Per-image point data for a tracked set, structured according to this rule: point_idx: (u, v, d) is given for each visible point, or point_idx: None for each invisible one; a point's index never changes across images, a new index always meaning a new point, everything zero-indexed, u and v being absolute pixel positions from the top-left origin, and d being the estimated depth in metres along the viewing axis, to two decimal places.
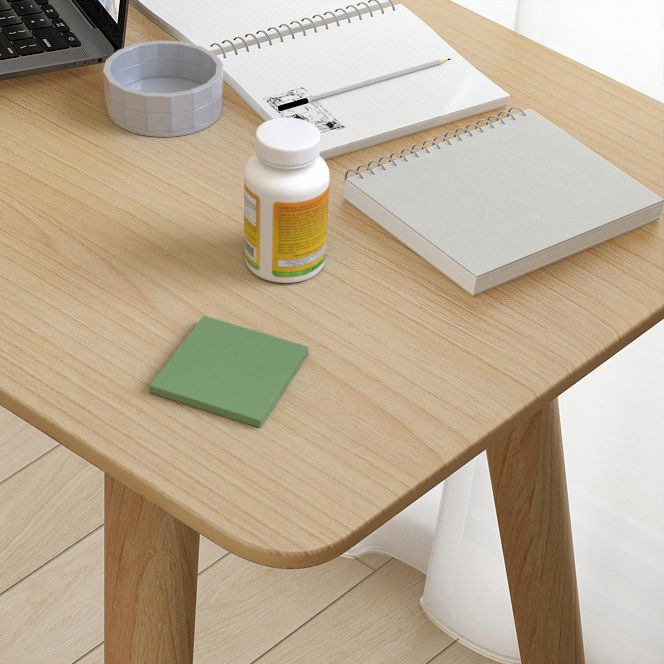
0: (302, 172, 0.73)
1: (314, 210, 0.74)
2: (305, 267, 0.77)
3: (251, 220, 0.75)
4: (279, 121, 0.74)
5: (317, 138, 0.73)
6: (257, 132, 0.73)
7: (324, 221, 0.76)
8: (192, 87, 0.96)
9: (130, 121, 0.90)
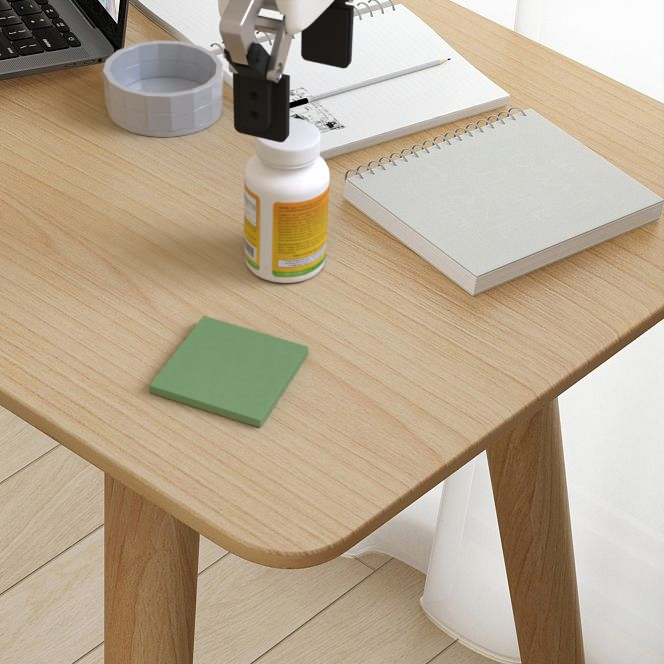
0: (302, 172, 0.73)
1: (314, 210, 0.74)
2: (305, 267, 0.77)
3: (251, 220, 0.75)
4: None
5: (317, 138, 0.73)
6: None
7: (324, 221, 0.76)
8: (192, 87, 0.96)
9: (130, 121, 0.90)
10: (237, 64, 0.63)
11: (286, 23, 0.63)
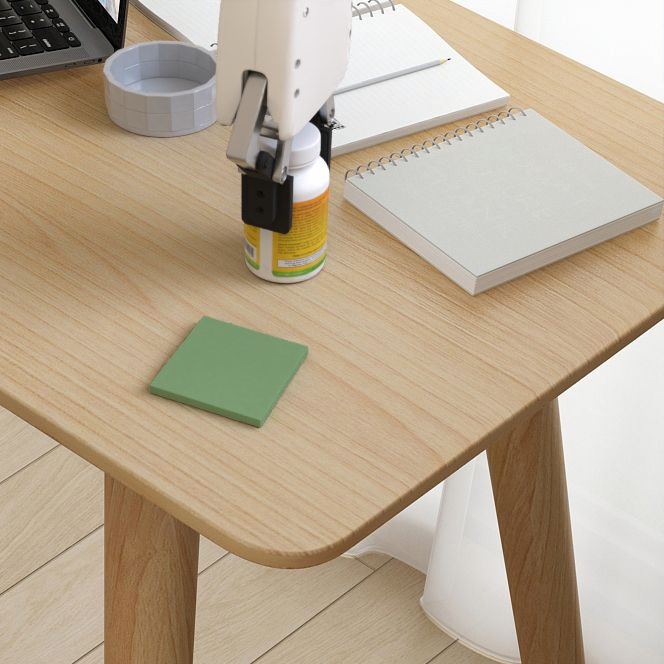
0: (302, 172, 0.73)
1: (314, 210, 0.74)
2: (305, 267, 0.77)
3: None
4: None
5: (317, 138, 0.73)
6: None
7: (324, 221, 0.76)
8: (192, 87, 0.96)
9: (130, 121, 0.90)
10: (246, 168, 0.69)
11: (284, 139, 0.68)
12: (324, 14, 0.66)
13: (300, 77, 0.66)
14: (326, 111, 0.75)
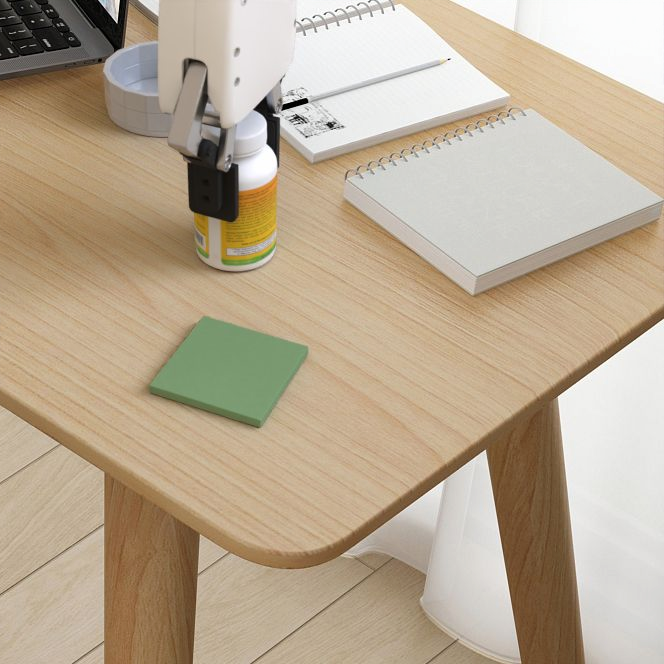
0: (248, 161, 0.74)
1: (261, 198, 0.75)
2: (254, 255, 0.77)
3: None
4: None
5: (263, 127, 0.73)
6: None
7: (272, 210, 0.77)
8: None
9: (130, 121, 0.90)
10: (190, 156, 0.70)
11: (227, 127, 0.69)
12: (263, 3, 0.67)
13: (241, 65, 0.67)
14: (273, 100, 0.75)
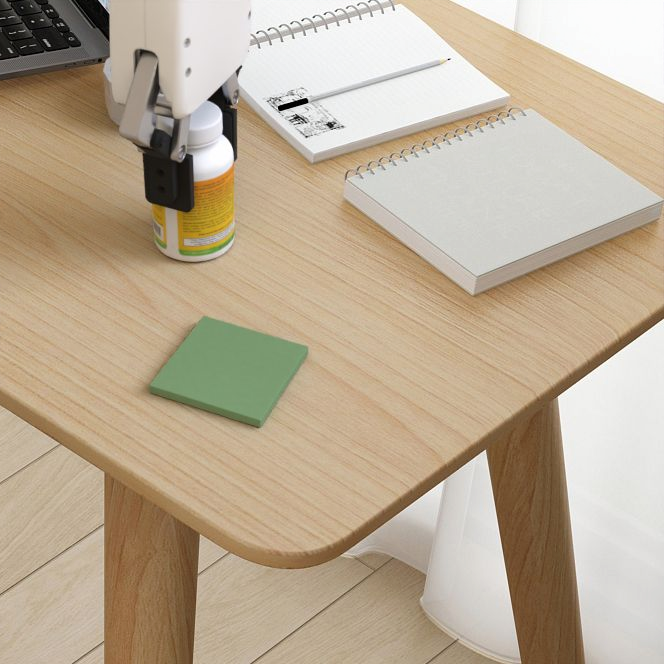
0: (204, 151, 0.74)
1: (217, 189, 0.76)
2: (211, 246, 0.78)
3: None
4: None
5: (218, 118, 0.74)
6: None
7: (229, 200, 0.77)
8: None
9: None
10: (143, 146, 0.71)
11: (180, 118, 0.70)
12: None
13: (192, 56, 0.67)
14: (229, 92, 0.76)
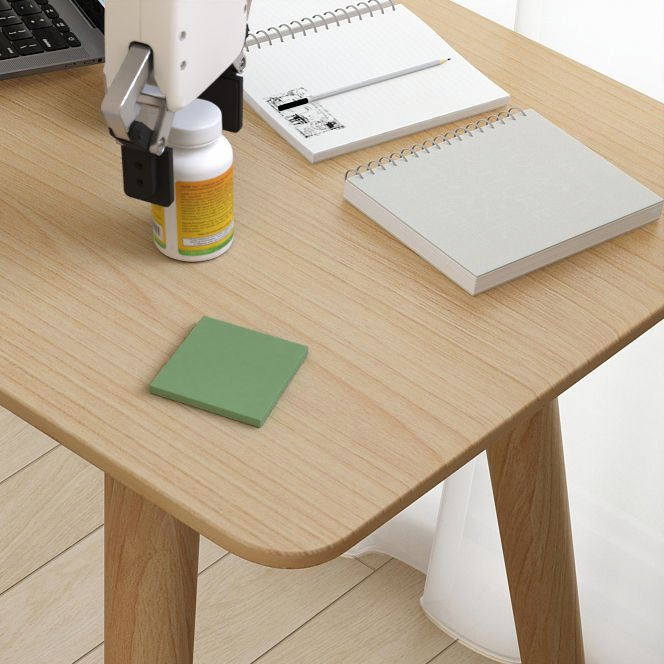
0: (203, 151, 0.74)
1: (216, 188, 0.76)
2: (211, 246, 0.78)
3: None
4: None
5: (218, 118, 0.74)
6: None
7: (228, 200, 0.77)
8: None
9: None
10: (121, 139, 0.68)
11: (167, 102, 0.68)
12: None
13: (187, 49, 0.67)
14: (236, 59, 0.76)
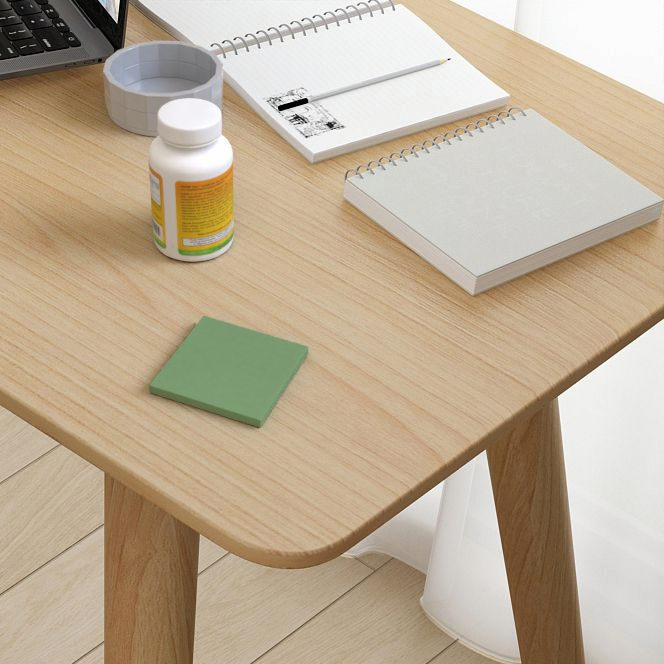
0: (203, 151, 0.74)
1: (217, 188, 0.76)
2: (211, 246, 0.78)
3: (156, 199, 0.77)
4: (182, 101, 0.75)
5: (218, 118, 0.74)
6: (159, 112, 0.74)
7: (228, 200, 0.77)
8: (192, 87, 0.96)
9: (130, 121, 0.90)
10: None
11: None
12: None
13: None
14: None
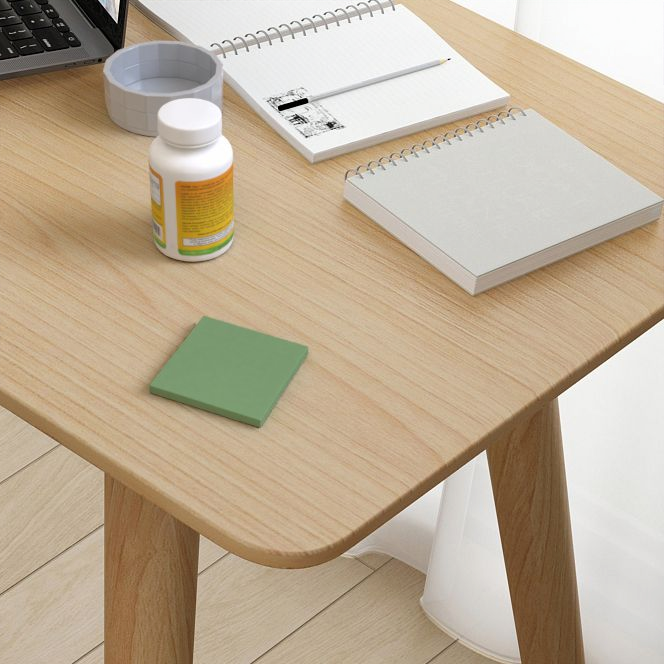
0: (203, 151, 0.74)
1: (217, 188, 0.76)
2: (211, 246, 0.78)
3: (156, 199, 0.77)
4: (182, 101, 0.75)
5: (218, 118, 0.74)
6: (159, 112, 0.74)
7: (228, 200, 0.77)
8: (192, 87, 0.96)
9: (130, 121, 0.90)
10: None
11: None
12: None
13: None
14: None
